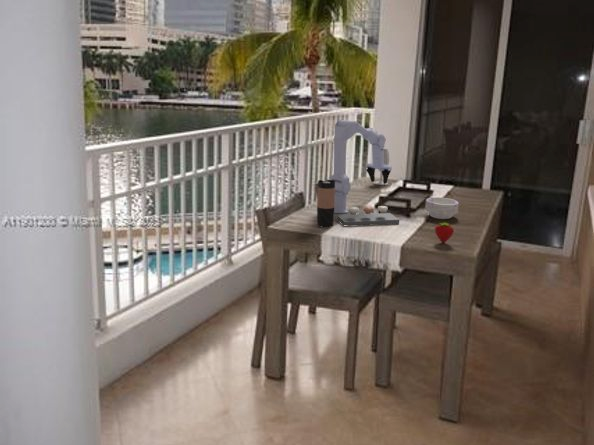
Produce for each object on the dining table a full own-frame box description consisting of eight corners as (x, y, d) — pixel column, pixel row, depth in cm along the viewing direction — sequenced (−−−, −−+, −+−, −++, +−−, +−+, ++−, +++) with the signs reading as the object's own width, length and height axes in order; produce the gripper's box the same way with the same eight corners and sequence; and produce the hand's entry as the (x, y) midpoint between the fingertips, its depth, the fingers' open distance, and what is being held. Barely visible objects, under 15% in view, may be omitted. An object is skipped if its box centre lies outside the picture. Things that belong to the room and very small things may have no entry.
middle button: (365, 214, 264) (365, 209, 263) (361, 212, 268) (362, 206, 267) (374, 214, 265) (374, 208, 264) (370, 211, 269) (371, 206, 268)
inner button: (350, 215, 263) (350, 209, 262) (347, 212, 267) (347, 207, 266) (359, 215, 264) (359, 209, 263) (356, 212, 268) (356, 206, 267)
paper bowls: (462, 220, 273) (464, 204, 270) (431, 221, 270) (433, 204, 268) (449, 212, 287) (450, 196, 285) (420, 213, 285) (421, 197, 282)
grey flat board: (344, 226, 259) (344, 222, 259) (336, 219, 270) (336, 215, 270) (399, 223, 265) (399, 219, 264) (389, 217, 276) (389, 212, 276)
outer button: (379, 214, 266) (379, 208, 265) (376, 211, 270) (376, 206, 269) (388, 213, 266) (389, 208, 266) (385, 211, 271) (385, 205, 270)
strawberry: (450, 246, 234) (452, 222, 231) (431, 243, 237) (433, 219, 235) (454, 242, 239) (456, 219, 236) (436, 239, 242) (438, 216, 240)
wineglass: (373, 185, 346) (375, 150, 340) (373, 182, 354) (375, 148, 349) (388, 186, 345) (390, 150, 339) (388, 183, 353) (390, 148, 347)
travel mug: (328, 228, 255) (330, 183, 250) (313, 225, 259) (314, 181, 254) (336, 224, 262) (338, 181, 256) (322, 222, 265) (323, 179, 260)
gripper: (394, 156, 296) (395, 181, 301) (370, 153, 305) (371, 178, 310) (386, 160, 291) (387, 185, 296) (362, 157, 300) (364, 182, 305)
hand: (379, 182), depth 303 cm, fingers open, 7 cm apart
